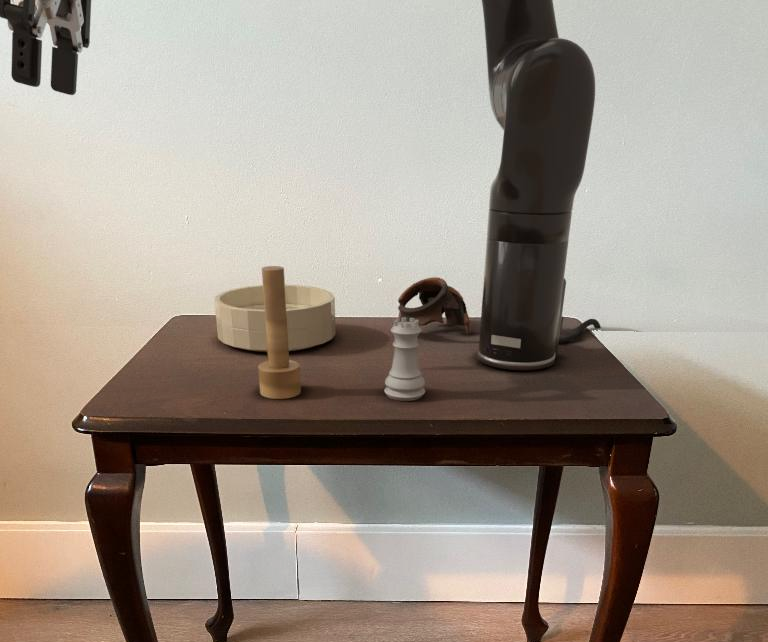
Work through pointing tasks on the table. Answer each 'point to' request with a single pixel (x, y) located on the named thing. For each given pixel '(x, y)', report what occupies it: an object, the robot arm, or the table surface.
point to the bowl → (247, 317)
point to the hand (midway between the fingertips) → (45, 89)
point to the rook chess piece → (405, 363)
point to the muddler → (277, 341)
